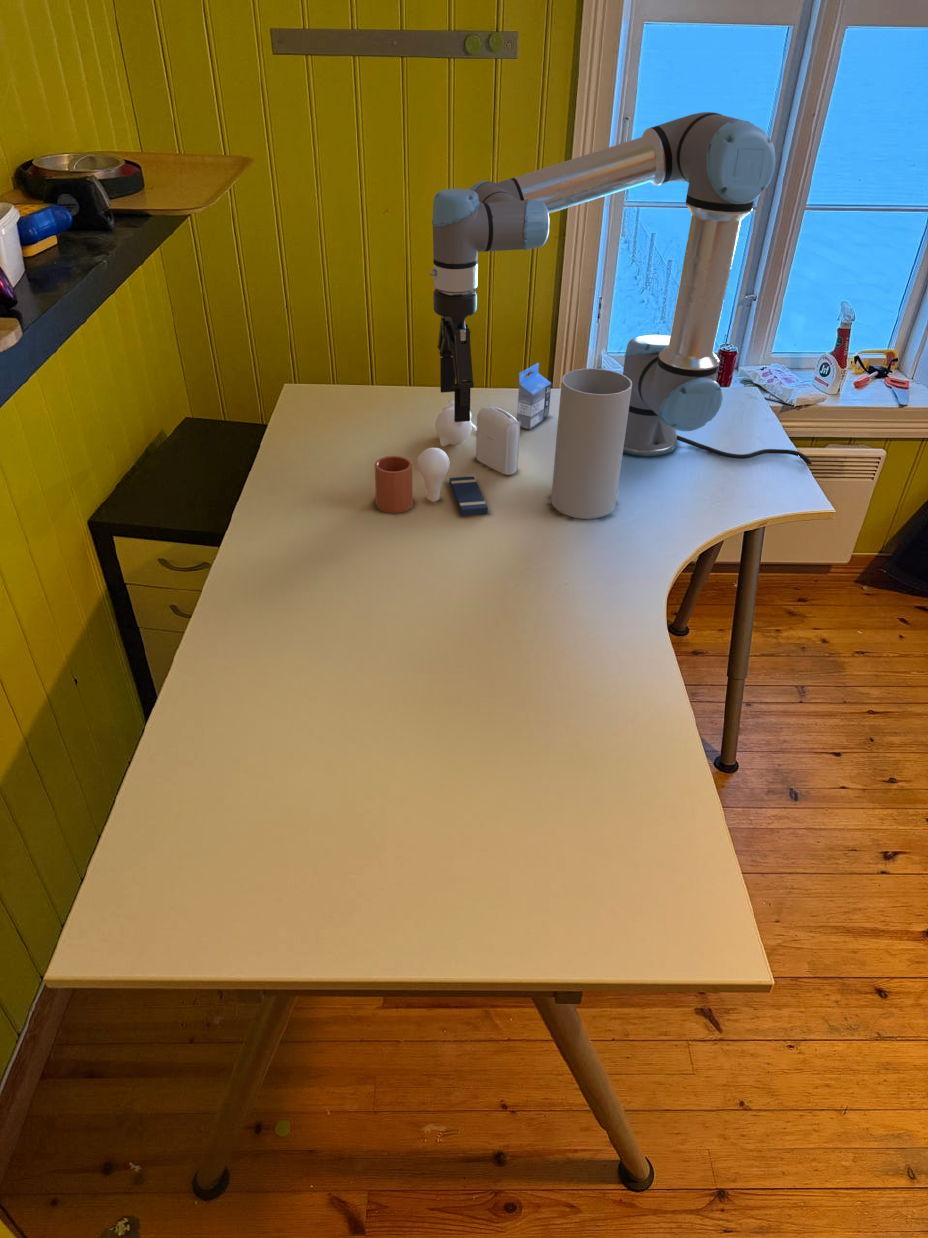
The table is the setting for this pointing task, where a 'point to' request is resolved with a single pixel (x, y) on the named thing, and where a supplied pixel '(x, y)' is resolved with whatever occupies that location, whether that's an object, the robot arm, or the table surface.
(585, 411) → the cylinder vase
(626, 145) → the robot arm
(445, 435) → the cat figurine
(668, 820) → the table surface
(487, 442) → the photo printer
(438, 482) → the lightbulb
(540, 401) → the ink cartridge box
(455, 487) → the towel
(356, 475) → the table surface
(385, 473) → the pot
